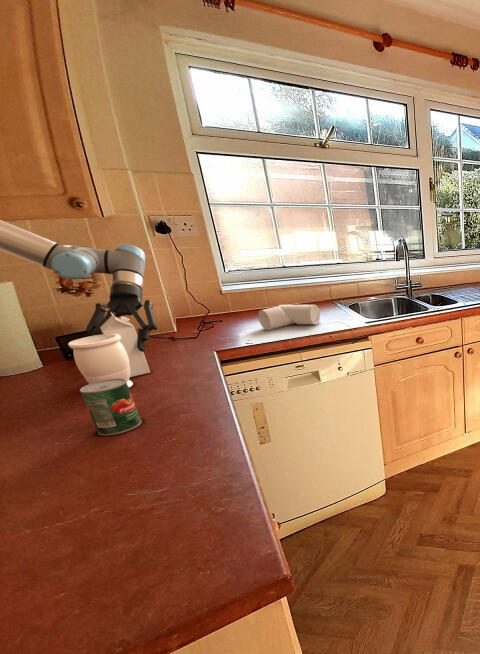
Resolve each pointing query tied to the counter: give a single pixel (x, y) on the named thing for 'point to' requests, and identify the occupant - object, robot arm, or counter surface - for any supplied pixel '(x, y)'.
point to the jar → (101, 358)
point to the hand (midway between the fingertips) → (120, 351)
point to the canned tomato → (111, 406)
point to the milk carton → (127, 343)
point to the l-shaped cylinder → (288, 316)
